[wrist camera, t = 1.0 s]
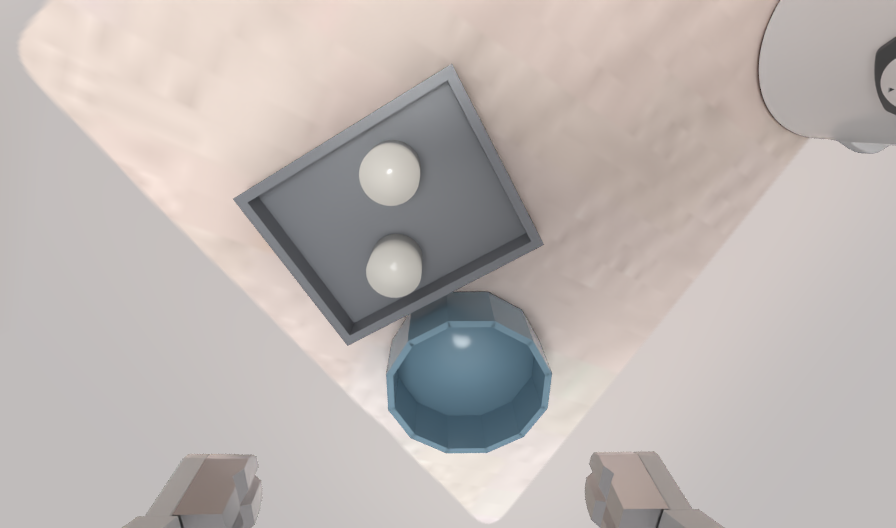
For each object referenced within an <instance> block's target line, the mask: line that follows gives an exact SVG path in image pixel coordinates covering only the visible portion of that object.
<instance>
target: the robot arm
mask: <svg viewBox="0 0 896 528" xmlns="http://www.w3.org/2000/svg"><path fill="white" fill-rule="evenodd" d="M759 81H760V87H761V92H762V95H763V98H764V101H765V103H766V105H767V107H768V109H769V111H770V112H771V114H772V115H773V117H774V118H775V119H776V120H777V121H778V122H779V123H780V124H781V125H782V126H784V127H785V128H786V129H788V130H790V131H792V132H794V133H796V134H798V135H801V136H805V137H809V138H819V139H831V140H836V141H839V142H840V143H842V144H843V145H844V146H846V147H847V148H849V149H851V150H853V151H855V152H858V153H869V154H873V153H877V152H879V151H881V150H883V149H885V148H886V147H888V146H889V145H895V146H896V0H780V2H779V3H778V5H777V7H776V9H775V11H774V13H773V15H772V17H771V19H770V21H769V24H768V26H767V29H766V32H765V35H764V38H763V42H762V46H761V51H760V58H759ZM589 464H590V467H591V469H592V473H591V474H590V475H589V476H588V477H587V478H586V484H585V500H586V504H587V509H588V512H589V515H590V517H591V520H592V521H593V522H594V523H596V524H597V525H598V526H599V527H600V528H724V527H723V526H721V525H720V524H719V523H717V522H716V521H714V520H713V519H711V518H710V517H709V516H707V515H706V514H704V513H703V512H702V511H700V510H699V509H692V507H691V506H690V504H689V503H688V501H687V499H686V498H685V496H684V495H683V493H682V492H681V490H680V488H679V487H678V485H677V484H676V482H675V481H674V479H673V477H672V476H671V474H670V473H669V471H668V470H667V468H666V466H665V465H664V463H663V462H662V460H661V459H660V457H659V455H658V454H657V453H655V452H654V451H653V452H595V453H593V454H592V456H591V460H590V463H589ZM257 469H258V461H257V457H256V456H255V455H239V454H188V455H187V456H186V457H185V458H183V459H182V461H181V462H180V464H179V465H178V467H177V468H176V470H175V471H174V473H173V474H172V476H171V477H170V479H169V480H168V482H167V483H166V485H165V486H164V488H163V489H162V491H161V493H160V494H159V495H158V497H157V499H156V500H155V502H154V503H153V505H152V506H151V508H150V509H149V511H148V512H147V514H146V515H145V516H139V517H136V518H135V519H134V520H132V521H131V522H129V523H128V524H126V525H125V526H123V527H122V528H251V527H252V526H253V525H255V522H256V520H257V517H258V514H259V511H260V506H261V501H262V484H261V480H260V479H259V478H258V477H256V476H255V474H256V471H257Z"/></svg>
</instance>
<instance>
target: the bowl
mask: <svg viewBox="0 0 896 528" xmlns="http://www.w3.org/2000/svg"><path fill="white" fill-rule="evenodd" d="M386 377H387V396H388V410H389V411H390V413H391V414H392V415H393V416H394V418H395V419H396V420H397V421H398V423H399V424H400V425H401V427H402V428H403V429H404V430H405V432H406V433H407V434H408V435H409V437H410V438H412V439H414V440H416V441H419V442H421V443H423V444H426V445H428V446H431V447H433V448H435V449H438V450H440V451H442V452H445V453H488V452H490V451H492V450H495V449H497V448H499V447H501V446H504V445H506V444H508V443H511V442H513V441H515V440H518V439H520V438H522V437H524V436H525V435H526V433H527V432H528V431H529V430H530V429H531V427H532V426H533V425H534V424H535V423H536V422H537V420H538V419H539V418H540V417H541V416H542V414H543V413H544V412H545V411H546V410H547V409H548V401H549V393H550V385H551V377H552V372H551V370H550V367H549V364H548V362H547V359H546V357H545V354H544V352H543V349H542V347H541V344H540V341H539V339H538V338H537V336H536V334H535V332H534V330H533V329H532V327H531V325H530V323H529V322H528V320H527V318H526V316H525V315H524V313H523V311H522V310H521V309H519V308H517V307H515V306H513V305H512V304H510V303H508V302H506V301H504V300H502V299H500V298H498V297H497V296H495V295H493V294H491V293H489V292H451V293H449V294H447V295H445V296H443V297H441V298H439V299H437V300H435V301H434V302H432V303H430V304H428V305H426V306H424V307H422V308H420V309H418V310H416V311H414V312H412V313H410V314H408V316H407V318H406V319H405V321H404V322H403V324H402V326H401V327H400V329H399V330H398V332H397V333H396V335H395V337H394V338H393V340H392V344H391V350H390V356H389V361H388V367H387V373H386Z"/></svg>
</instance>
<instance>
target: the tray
mask: <svg viewBox="0 0 896 528" xmlns="http://www.w3.org/2000/svg"><path fill="white" fill-rule="evenodd" d="M385 140H399V141H402V142H404V143H406V144H408V145H409V146H411V147H412V148H413V149H414V150H415V152H416V153H417V155H418V157H419V160H420V163H421V174H420V181H419V185H418V188H417V190H416V192H415V194H414V195H413V196H412V197H411V198H410V199H409V200H408V201H406V202H405V203H403V204H400V205H396V206H386V205H382V204H379V203H377V202H375V201H373V200H372V199H371V198H369V197H368V196H367V195H366V193H365V192H364V190H363V188H362V186H361V184H360V180H359V169H360V165H361V163H362V161H363V159H364V157H365V156H366V155H367V154H368V153H369V152H370V150H371V149H372V148H373V147H374V146H375V145H377V144H378V143H380V142H382V141H385ZM233 200H234V201H235V202H236V203H237V205H238V206H239V207H240V209H241V210H242V211H243V212H244V214H245V215H246V216H247V218H248V219H249V220H250V221H251V223H252V224H253V225H254V227H255V228H256V229H257V230H258V232H259V233H260V234H261V236H262V237H263V238H264V239H265V241H266V242H267V243H268V244H269V246H270V247H271V248H272V250H273V251H274V252H275V253H276V255H277V256H278V257H279V259H280V260H281V261H282V262H283V264H284V265H285V266H286V268H287V269H288V270H289V271H290V273H291V274H292V275H293V276H294V278H295V279H296V280H297V282H298V283H299V284H300V285H301V287H302V288H303V289H304V291H305V292H306V293H307V294H308V296H309V297H310V298H311V300H312V301H313V302H314V303H315V305H316V306H317V307H318V308H319V310H320V311H321V312H322V314H323V315H324V316H325V317H326V319H327V320H328V321H329V323H330V324H331V325H332V326H333V328H334V329H335V330H336V332H337V333H338V334H339V335H340V337H341V338H342V339H343V340H344V342H345V343H346V344H347V346H348V345H350V344H352V343H354V342H356V341H358V340H360V339H362V338H364V337H366V336H367V335H369V334H371V333H373V332H375V331H377V330H379V329H381V328H383V327H385V326H387V325H389V324H391V323H393V322H395V321H397V320H399V319H401V318H402V317H404V316H406V315H408V314H410V313H412V312H414V311H416V310H418V309H420V308H422V307H424V306H426V305H428V304H430V303H432V302H434V301H435V300H437V299H439V298H441V297H443V296H445V295H447V294H449V293H451V292H453V291H455V290H457V289H459V288H461V287H463V286H465V285H467V284H469V283H470V282H472V281H474V280H476V279H478V278H480V277H482V276H484V275H486V274H488V273H490V272H492V271H494V270H496V269H498V268H500V267H502V266H504V265H505V264H507V263H509V262H511V261H513V260H515V259H517V258H519V257H521V256H523V255H525V254H527V253H529V252H531V251H533V250H535V249H537V248H538V247H540V246H542V245H544V244H543V242H542V240H541V238H540V236H539V234H538V232H537V230H536V228H535V226H534V224H533V222H532V220H531V218H530V216H529V215H528V213H527V211H526V209H525V207H524V205H523V203H522V201H521V199H520V197H519V195H518V193H517V191H516V189H515V187H514V185H513V183H512V181H511V179H510V177H509V175H508V173H507V171H506V169H505V167H504V165H503V163H502V161H501V160H500V158H499V156H498V154H497V152H496V150H495V148H494V146H493V144H492V142H491V140H490V138H489V136H488V134H487V132H486V130H485V128H484V126H483V124H482V122H481V120H480V118H479V116H478V114H477V112H476V110H475V108H474V107H473V105H472V103H471V101H470V99H469V97H468V95H467V93H466V91H465V89H464V87H463V85H462V83H461V81H460V79H459V77H458V75H457V73H456V71H455V69H454V67H453V65H452V64H451V65H449V66H447V67H446V68H444V69H442V70H441V71H439V72H438V73H436V74H434V75H433V76H431V77H430V78H428V79H426V80H425V81H423V82H421V83H420V84H418V85H417V86H415V87H413V88H412V89H410V90H408V91H407V92H405V93H404V94H402V95H400V96H399V97H397V98H396V99H394V100H392V101H391V102H389V103H387V104H386V105H384V106H383V107H381V108H379V109H378V110H376V111H374V112H373V113H371V114H370V115H368V116H366V117H365V118H363V119H362V120H360V121H358V122H357V123H355V124H353V125H352V126H350V127H349V128H347V129H345V130H344V131H342V132H341V133H339V134H337V135H336V136H334V137H332V138H331V139H329V140H328V141H326V142H324V143H323V144H321V145H319V146H318V147H316V148H315V149H313V150H311V151H310V152H308V153H307V154H305V155H303V156H302V157H300V158H298V159H297V160H295V161H294V162H292V163H290V164H289V165H287V166H285V167H284V168H282V169H281V170H279V171H277V172H276V173H274V174H273V175H271V176H269V177H268V178H266V179H264V180H263V181H261V182H260V183H258V184H256V185H255V186H253V187H251V188H250V189H248V190H247V191H245V192H243V193H242V194H240V195H239V196H237V197H235V198H234V199H233ZM390 234H403V235H406V236H408V237H410V238H412V239H413V240H414V241H415V242H416V243H417V244H418V245H419V247H420V249H421V251H422V255H423V261H422V274H421V280H420V283H419V285H418V286H417V288H416V289H415V290H414V291H413V292H411V293H410V294H408V295H406V296H403V297H399V298H391V297H386V296H383V295H381V294H379V293H378V292H376V291H375V290H374V289H373V288H372V287H371V285H370V284H369V282H368V280H367V276H366V267H367V264H368V261H369V258H370V256H371V253H372V250H373V248H374V246H375V244H376V243H377V242H378V241H379V240H380V239H381V238H383V237H384V236H387V235H390Z"/></svg>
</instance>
